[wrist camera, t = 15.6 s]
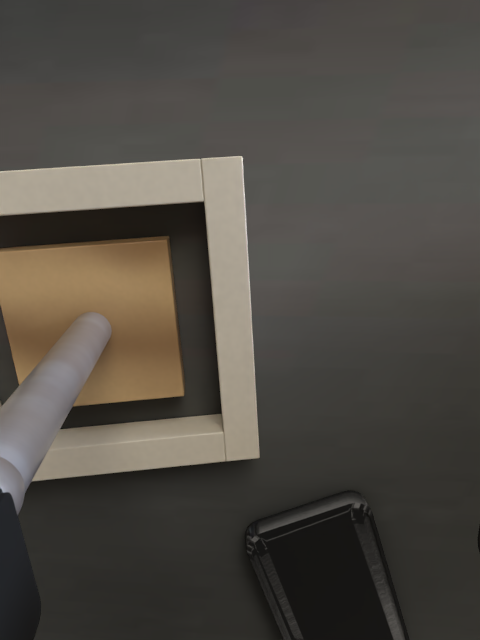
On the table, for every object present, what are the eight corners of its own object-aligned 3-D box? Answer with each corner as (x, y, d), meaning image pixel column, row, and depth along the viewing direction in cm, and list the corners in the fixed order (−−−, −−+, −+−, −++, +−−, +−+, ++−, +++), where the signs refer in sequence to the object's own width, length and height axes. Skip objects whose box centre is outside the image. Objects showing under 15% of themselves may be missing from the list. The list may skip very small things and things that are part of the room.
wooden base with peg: (1, 247, 22) (-332, 373, 8) (169, 235, 22) (119, 334, 9) (35, 397, 24) (-179, 686, 11) (185, 383, 25) (166, 643, 11)
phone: (367, 497, 27) (417, 667, 31) (361, 485, 28) (410, 651, 32) (239, 540, 27) (308, 703, 32) (238, 526, 28) (305, 685, 33)
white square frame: (-97, 178, 21) (-127, 179, 19) (238, 157, 22) (242, 155, 20) (-17, 465, 25) (-35, 488, 24) (255, 438, 26) (259, 458, 24)
